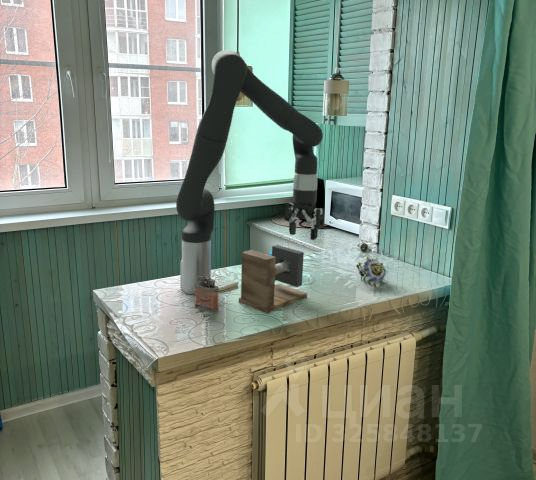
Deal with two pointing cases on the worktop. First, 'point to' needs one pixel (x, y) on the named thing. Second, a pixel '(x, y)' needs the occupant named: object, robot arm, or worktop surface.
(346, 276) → the worktop surface
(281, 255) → the panel
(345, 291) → the worktop surface
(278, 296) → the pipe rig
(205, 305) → the lighter
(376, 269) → the passion flower
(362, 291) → the worktop surface
